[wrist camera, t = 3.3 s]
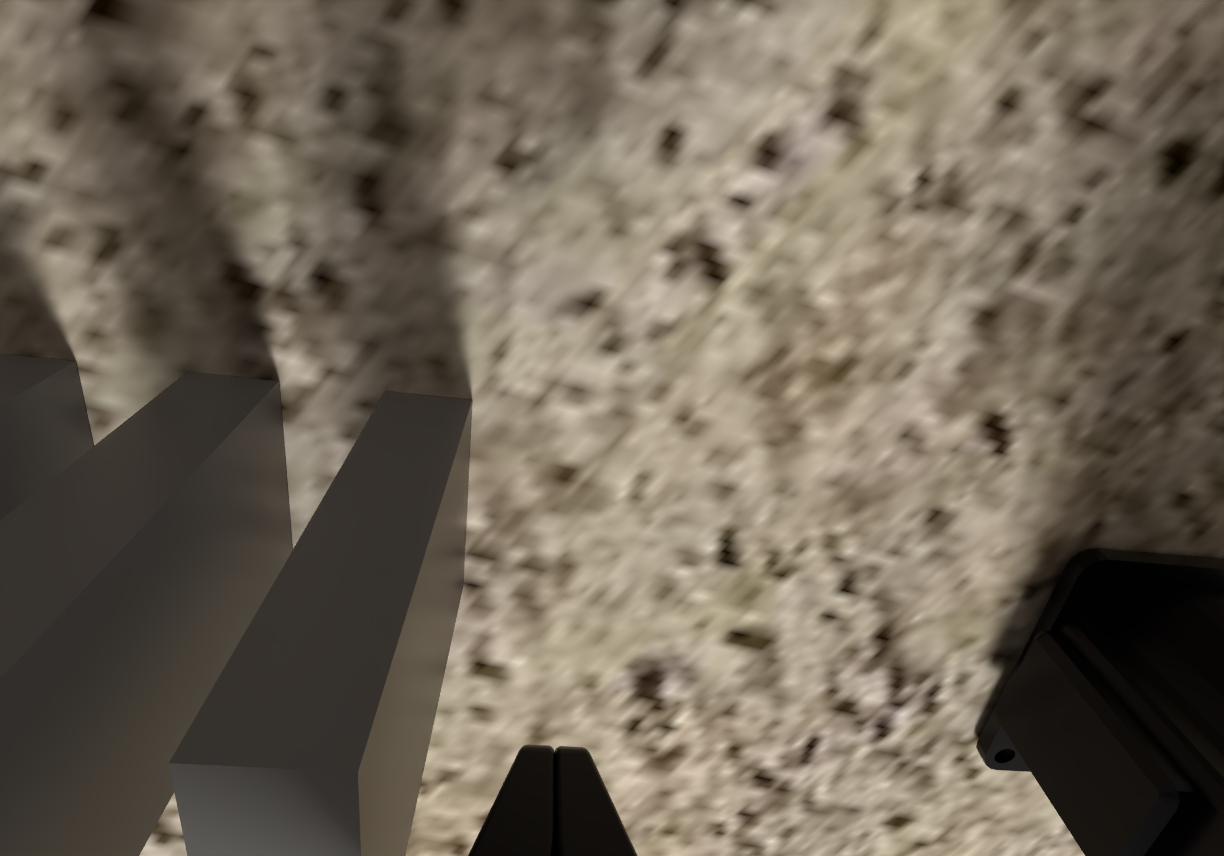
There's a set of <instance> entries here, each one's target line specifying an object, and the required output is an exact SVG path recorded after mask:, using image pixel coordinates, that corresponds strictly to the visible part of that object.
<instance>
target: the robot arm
mask: <svg viewBox="0 0 1224 856" xmlns="http://www.w3.org/2000/svg"><path fill="white" fill-rule="evenodd" d="M1095 571H1096V572H1095ZM1093 572H1095V573H1093ZM1092 573H1093V574H1092ZM976 747H977V750H978V752H979V754H980V756H981V757H982V759H983V761H984V762H985V764H986V765H987V766H988V767H989V768H991V769H996V770H1010V771H1029V772H1032V774H1033V775H1034V777H1035V779H1036V780H1037V782H1038V783H1039V785H1040V786H1041V788H1042V789H1043V791H1044V792H1045V794H1046V796H1047V797H1048V799H1049V800H1050V802H1051V803H1052V805H1053V806H1054V808H1055V809H1056V811H1057V813H1058V814H1059V816H1060V817H1061V819H1062V820H1063V822H1064V823H1065V825H1066V826H1067V828H1068V830H1069V831H1070V833H1071V834H1072V836H1073V837H1074V839H1075V840H1076V842H1077V843H1078V845H1079V847H1080V848H1081V850H1082V851H1083V853H1084V854H1085V856H1224V559H1217V558H1206V557H1194V556H1182V555H1170V554H1159V553H1147V552H1135V551H1124V550H1112V549H1100V548H1095V549H1087V550H1085V551H1082V552H1080V553H1078V554H1077V555H1076V556H1074V557H1073V558H1072V559H1071V560H1070V561H1069V563H1068V564H1067V565H1066V567H1065V569H1064V571H1063V573H1062V575H1061V577H1060V579H1059V581H1058V583H1057V585H1056V587H1055V589H1054V591H1053V593H1052V595H1051V597H1050V599H1049V601H1048V603H1047V605H1046V607H1045V609H1044V611H1043V613H1042V615H1041V617H1040V619H1039V621H1038V623H1037V625H1036V627H1035V629H1034V631H1033V633H1032V635H1031V637H1030V639H1029V641H1028V643H1027V645H1026V647H1025V649H1024V651H1023V653H1022V655H1021V657H1020V659H1019V660H1018V662H1017V664H1016V666H1015V668H1014V670H1013V672H1012V674H1011V676H1010V678H1009V680H1008V682H1007V684H1006V686H1005V688H1004V690H1003V692H1002V694H1001V696H1000V698H999V700H998V702H997V704H996V706H995V708H994V710H993V712H992V714H991V716H990V718H989V720H988V722H987V724H986V726H985V728H984V730H983V732H982V734H981V736H980V738H979V740H978V742H977V746H976ZM468 856H637V854H636V852H635V849H634V847H633V845H632V843H631V841H630V839H629V837H628V834H627V832H626V830H625V828H624V826H623V824H622V821H621V819H620V817H619V815H618V813H617V811H616V808H615V806H614V804H613V802H612V800H611V798H610V796H609V793H608V791H607V789H606V787H605V785H604V783H603V780H602V778H601V776H600V774H599V772H598V770H597V767H596V765H595V763H594V761H593V759H592V757H591V755H590V753H589V752H588V750H587V749H585V748H583V747H567V746H560V747H558V748H556V750H555V752H554V749H553V748H552V747H551V746H546V745H524V746H523V747H522V748H521V749H520V751H519V752H518V755H517V757H516V759H515V761H514V763H513V765H512V767H511V769H510V771H509V773H508V775H507V777H506V779H505V781H504V783H503V785H502V787H501V789H500V791H499V793H498V796H497V798H496V800H495V802H494V804H493V806H492V808H491V810H490V812H489V814H488V816H487V818H486V820H485V822H484V824H483V826H482V828H481V830H480V832H479V834H478V837H477V839H476V841H475V843H474V845H473V847H472V849H471V851H470V853H469V855H468Z"/></svg>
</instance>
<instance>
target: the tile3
mask: <svg viewBox="0 0 1224 856" xmlns="http://www.w3.org/2000/svg"><path fill="white" fill-rule="evenodd" d="M92 447H94V444H93V440H92V435H91V430H90V426H89V421H88V416H87V411H86V407H85V402H84V397H83V393H82V388H81V383H80V379H79V374H78V369H77V364H76V361H70V360H60V359H50V358H40V357H30V356H20V355H9V354H0V520H1V519H3V518H4V517H5V516H6V515H8V514H9V513H10V512H12V511H13V510H14V509H15V508H17V507H18V506H19V505H20V504H22V503H23V502H24V501H25V500H27V499H28V498H29V497H30V496H32V495H33V494H34V493H36V492H37V491H38V490H39V489H41V488H42V487H43V486H44V485H46V484H47V483H48V482H49V481H51V480H52V479H53V478H54V477H56V476H57V475H58V474H59V473H61V472H62V471H63V470H65V469H66V468H67V467H68V466H70V465H71V464H72V463H73V462H75V461H76V460H77V459H78V458H80V457H81V456H82V455H83V454H85V453H86V452H87V451H89V450H90V449H91V448H92Z"/></svg>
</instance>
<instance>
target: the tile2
mask: <svg viewBox="0 0 1224 856" xmlns="http://www.w3.org/2000/svg"><path fill="white" fill-rule="evenodd" d="M292 551H293V546H292V533H291V521H290V508H289V496H288V483H287V471H286V459H285V446H284V434H283V421H282V409H281V396H280V384H279V381H274V380H264V379H254V378H243V377H233V376H223V375H213V374H203V373H193V372H187V373H186V374H184V375H183V376H182V377H181V378H179V379H178V380H177V381H176V382H174V383H173V384H172V385H171V386H169V387H168V388H167V389H166V390H164V391H163V392H162V393H160V394H159V395H158V396H157V397H155V398H154V399H153V400H152V401H150V402H149V403H148V404H147V405H145V406H144V407H143V408H142V409H140V410H139V411H138V412H136V413H135V414H134V415H133V416H131V417H130V418H129V419H128V420H126V421H125V422H124V423H123V424H121V425H120V426H119V427H118V428H116V429H115V430H114V431H113V432H111V433H110V434H109V435H107V436H106V437H105V438H104V439H102V440H101V441H100V442H99V443H97V444H96V445H95V446H94V447H92V448H91V449H90V450H89V451H87V452H86V453H85V454H83V455H82V456H81V457H80V458H78V459H77V460H76V461H75V462H73V463H72V464H71V465H70V466H68V467H67V468H66V469H65V470H63V471H62V472H61V473H59V474H58V475H57V476H56V477H54V478H53V479H52V480H51V481H49V482H48V483H47V484H46V485H44V486H43V487H42V488H41V489H39V490H38V491H37V492H36V493H34V494H33V495H32V496H30V497H29V498H28V499H27V500H25V501H24V502H23V503H22V504H20V505H19V506H18V507H17V508H15V509H14V510H13V511H12V512H10V513H9V514H8V515H6V516H5V517H4V518H3V519H1V520H0V856H139V855H140V853H141V851H142V849H143V847H144V846H145V844H146V842H147V840H148V838H149V837H150V835H151V833H152V831H153V829H154V828H155V826H156V824H157V822H158V820H159V818H160V817H161V815H162V813H163V811H164V809H165V808H166V806H167V804H168V802H169V800H170V799H171V797H172V795H173V793H174V787H173V782H172V777H171V772H170V767H169V762H170V760H171V758H172V756H173V755H174V753H175V751H176V750H177V748H178V746H179V744H180V743H181V741H182V739H183V738H184V736H185V734H186V732H187V731H188V729H189V727H190V726H191V724H192V722H193V720H194V719H195V717H196V715H197V714H198V712H199V710H200V708H201V707H202V705H203V703H204V702H205V700H206V698H207V696H208V695H209V693H210V691H211V690H212V688H213V686H214V684H215V683H216V681H217V679H218V678H219V676H220V674H221V672H222V671H223V669H224V667H225V666H226V664H227V662H228V660H229V659H230V657H231V655H232V654H233V652H234V650H235V648H236V647H237V645H238V643H239V642H240V640H241V638H242V636H243V635H244V633H245V631H246V630H247V628H248V626H249V624H250V623H251V621H252V619H253V618H254V616H255V614H256V612H257V611H258V609H259V607H260V606H261V604H262V602H263V600H264V599H265V597H266V595H267V594H268V592H269V590H270V588H271V587H272V585H273V583H274V582H275V580H276V578H277V576H278V575H279V573H280V571H281V570H282V568H283V566H284V564H285V563H286V561H287V559H288V558H289V556H290V554H291V552H292Z"/></svg>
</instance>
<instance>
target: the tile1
mask: <svg viewBox="0 0 1224 856" xmlns="http://www.w3.org/2000/svg"><path fill="white" fill-rule="evenodd" d="M471 418H472V400H468V399H458V398H448V397H438V396H427V395H417V394H407V393H397V392H387V391H385V393H384V395H383V396H382V398H381V400H380V401H379V403H378V405H377V407H376V408H375V410H374V412H373V413H372V415H371V417H370V419H369V420H368V422H367V424H366V425H365V427H364V429H363V431H362V432H361V434H360V436H359V437H358V439H357V441H356V443H355V444H354V446H353V448H352V449H351V451H350V453H349V455H348V456H347V458H346V460H345V461H344V463H343V465H342V467H341V468H340V470H339V472H338V473H337V475H336V477H335V479H334V480H333V482H332V484H331V485H330V487H329V489H328V491H327V492H326V494H325V496H324V498H323V499H322V501H321V503H320V504H319V506H318V508H317V510H316V511H315V513H314V515H313V516H312V518H311V520H310V522H309V523H308V525H307V527H306V528H305V530H304V532H303V534H302V535H301V537H300V539H299V540H298V542H297V544H296V546H295V547H294V549H293V551H292V552H291V554H290V556H289V558H288V559H287V561H286V563H285V564H284V566H283V568H282V570H281V571H280V573H279V575H278V576H277V578H276V580H275V582H274V583H273V585H272V587H271V588H270V590H269V592H268V594H267V595H266V597H265V599H264V600H263V602H262V604H261V606H260V607H259V609H258V611H257V612H256V614H255V616H254V618H253V619H252V621H251V623H250V624H249V626H248V628H247V630H246V631H245V633H244V635H243V636H242V638H241V640H240V642H239V643H238V645H237V647H236V648H235V650H234V652H233V654H232V655H231V657H230V659H229V660H228V662H227V664H226V666H225V667H224V669H223V671H222V672H221V674H220V676H219V678H218V679H217V681H216V683H215V684H214V686H213V688H212V690H211V691H210V693H209V695H208V696H207V698H206V700H205V702H204V703H203V705H202V707H201V708H200V710H199V712H198V714H197V715H196V717H195V719H194V720H193V722H192V724H191V726H190V727H189V729H188V731H187V732H186V734H185V736H184V738H183V739H182V741H181V743H180V744H179V746H178V748H177V750H176V751H175V753H174V755H173V756H172V758H171V760H170V762H169V767H170V772H171V777H172V782H173V787H174V792H175V797H176V801H177V806H178V811H179V816H180V821H181V826H182V831H183V836H184V840H185V845H186V850H187V855H188V856H405V854H406V850H407V845H408V840H409V836H410V831H411V826H412V822H413V817H414V812H415V808H416V803H417V799H418V794H419V789H420V785H421V780H422V775H423V771H424V766H425V761H426V757H427V752H428V747H429V743H430V738H431V733H432V729H433V724H434V719H435V715H436V710H437V706H438V701H439V696H440V692H441V687H442V682H443V678H444V673H445V668H446V664H447V659H448V654H449V650H450V645H451V640H452V636H453V631H454V626H455V622H456V617H457V613H458V608H459V603H460V599H461V594H462V589H463V581H464V561H465V540H466V520H467V500H468V479H469V459H470V438H471Z"/></svg>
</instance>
